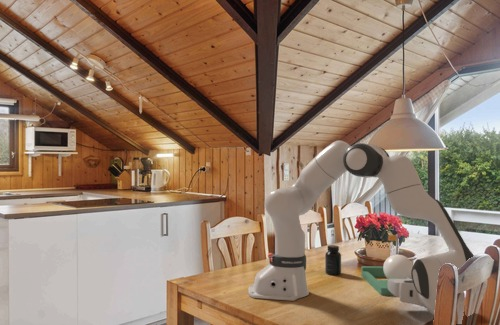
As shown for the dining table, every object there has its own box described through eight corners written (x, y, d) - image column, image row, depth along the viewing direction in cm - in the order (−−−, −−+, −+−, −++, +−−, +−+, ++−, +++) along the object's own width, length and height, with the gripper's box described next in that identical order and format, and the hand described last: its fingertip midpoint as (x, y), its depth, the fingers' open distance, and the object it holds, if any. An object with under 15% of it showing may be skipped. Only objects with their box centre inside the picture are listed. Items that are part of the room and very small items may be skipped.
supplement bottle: (331, 270, 183) (331, 243, 183) (344, 273, 178) (344, 246, 178) (322, 273, 178) (322, 246, 178) (335, 276, 174) (335, 248, 174)
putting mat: (381, 295, 150) (381, 246, 150) (361, 275, 176) (361, 233, 176) (427, 295, 150) (427, 246, 150) (400, 275, 176) (400, 234, 176)
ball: (388, 287, 150) (389, 258, 150) (379, 279, 161) (379, 251, 161) (418, 288, 150) (418, 258, 150) (406, 279, 161) (407, 251, 161)
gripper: (460, 283, 130) (440, 271, 144) (396, 282, 130) (382, 270, 143) (460, 302, 130) (439, 289, 144) (396, 302, 130) (382, 288, 143)
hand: (410, 280), depth 144 cm, fingers closed
